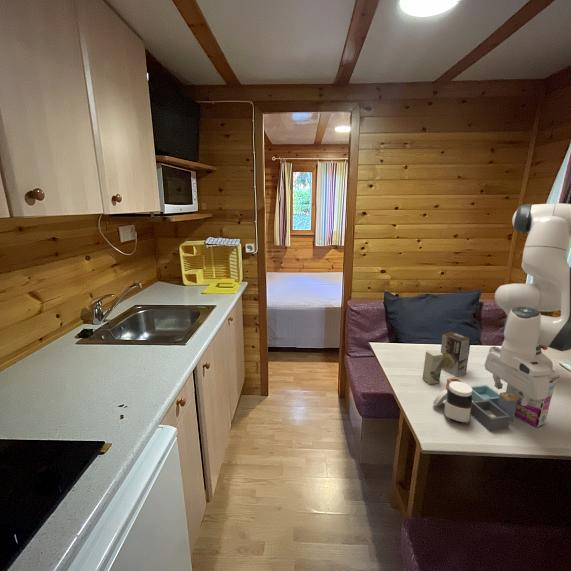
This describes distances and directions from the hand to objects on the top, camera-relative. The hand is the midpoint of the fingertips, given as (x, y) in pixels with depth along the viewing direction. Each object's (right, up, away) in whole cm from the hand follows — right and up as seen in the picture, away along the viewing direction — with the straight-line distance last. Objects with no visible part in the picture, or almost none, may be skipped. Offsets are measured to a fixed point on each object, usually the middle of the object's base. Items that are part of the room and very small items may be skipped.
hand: (509, 395), depth 102 cm
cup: (-9, -5, +17) cm, 20 cm away
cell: (0, -9, +3) cm, 9 cm away
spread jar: (-17, -8, +6) cm, 20 cm away
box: (-14, -3, +25) cm, 29 cm away
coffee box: (-1, -1, +33) cm, 33 cm away
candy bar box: (+7, -9, +4) cm, 12 cm away
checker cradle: (-6, -9, +2) cm, 11 cm away
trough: (-1, -6, +12) cm, 14 cm away
